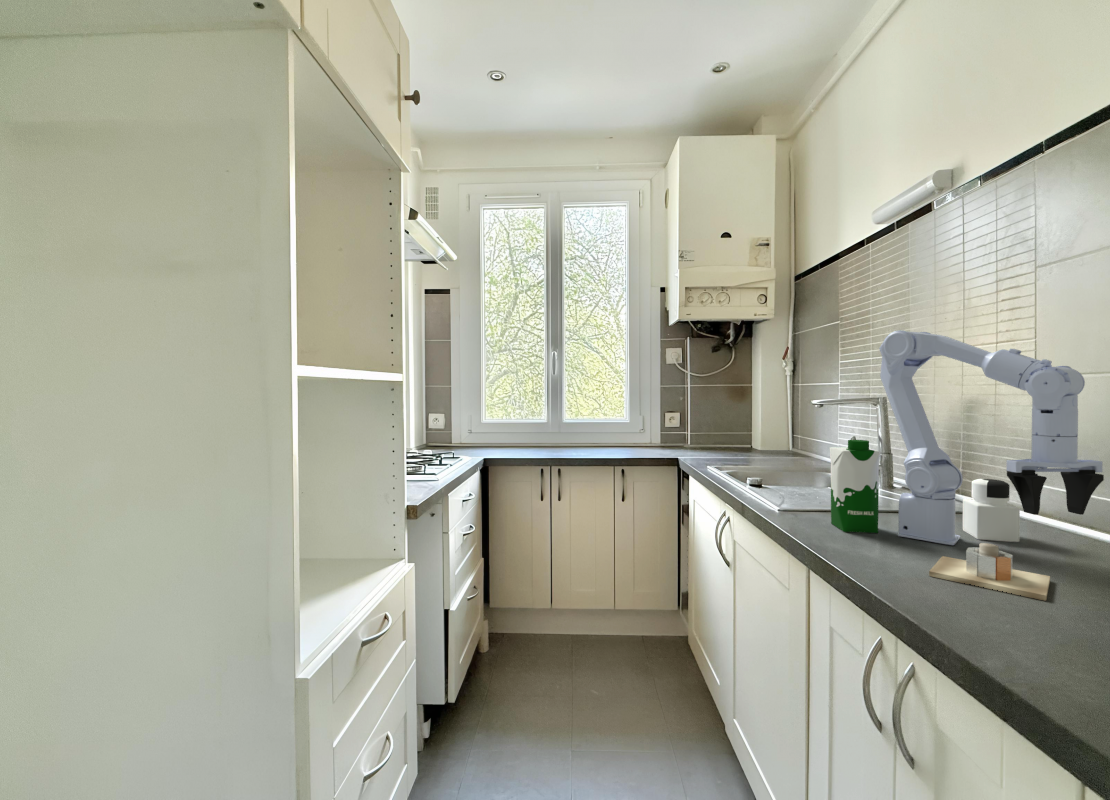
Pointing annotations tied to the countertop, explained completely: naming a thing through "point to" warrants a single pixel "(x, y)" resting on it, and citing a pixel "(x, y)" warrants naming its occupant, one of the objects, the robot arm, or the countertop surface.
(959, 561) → the duct board
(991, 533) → the medicine bottle
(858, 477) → the milk carton
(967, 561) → the collar
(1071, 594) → the countertop surface
